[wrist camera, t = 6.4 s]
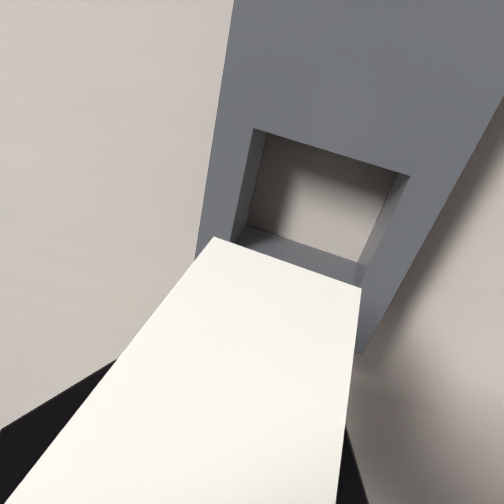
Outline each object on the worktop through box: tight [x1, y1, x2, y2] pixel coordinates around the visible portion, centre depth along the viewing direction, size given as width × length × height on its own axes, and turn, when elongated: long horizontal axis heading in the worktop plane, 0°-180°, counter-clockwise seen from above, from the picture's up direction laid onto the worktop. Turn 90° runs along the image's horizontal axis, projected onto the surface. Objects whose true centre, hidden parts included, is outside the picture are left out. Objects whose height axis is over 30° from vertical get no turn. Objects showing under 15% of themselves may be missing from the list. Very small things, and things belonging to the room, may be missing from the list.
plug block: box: [4, 237, 362, 504], centre depth 8 cm, size 4×4×8 cm
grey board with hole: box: [194, 0, 504, 355], centre depth 13 cm, size 9×26×4 cm, turn 166°
